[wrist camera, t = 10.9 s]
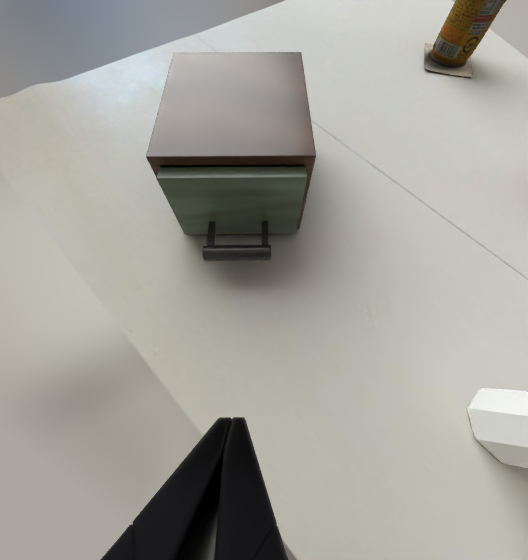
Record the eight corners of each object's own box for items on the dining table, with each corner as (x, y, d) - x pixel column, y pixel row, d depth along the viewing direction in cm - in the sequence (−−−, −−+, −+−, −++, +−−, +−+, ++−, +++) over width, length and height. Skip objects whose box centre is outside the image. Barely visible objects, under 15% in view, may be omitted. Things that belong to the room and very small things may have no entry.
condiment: (468, 51, 41) (541, -70, 31) (471, 78, 38) (555, -47, 27) (424, 45, 42) (480, -75, 31) (423, 71, 39) (486, -53, 28)
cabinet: (299, 229, 26) (316, 155, 18) (182, 230, 26) (145, 156, 18) (291, 138, 32) (301, 51, 24) (196, 138, 32) (173, 52, 24)
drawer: (298, 268, 23) (312, 220, 17) (179, 269, 23) (146, 221, 17) (288, 144, 31) (295, 75, 24) (197, 144, 30) (179, 76, 24)
